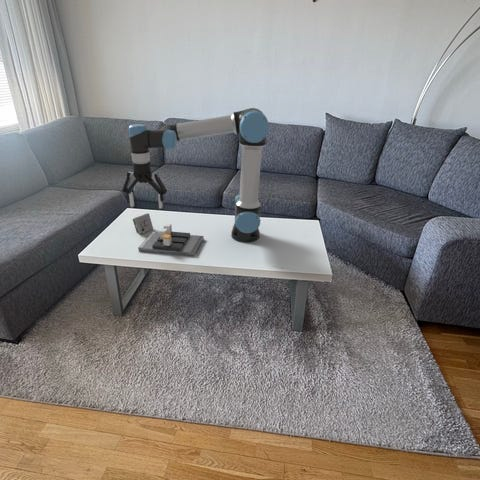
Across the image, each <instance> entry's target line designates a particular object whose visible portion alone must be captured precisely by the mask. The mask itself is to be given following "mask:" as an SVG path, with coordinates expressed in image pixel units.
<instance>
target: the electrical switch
mask: <svg viewBox="0 0 480 480" xmlns="http://www.w3.org/2000/svg"><path fill="white" fill-rule="evenodd" d="M132 222H133V225H134V228H135V231H136V233H138V235H142V234H144V233H148V232H149V231H152V230H153V229H154V226H153V223H152V222H153V221H152V218H151V215H150V213H144V214H142V215H138V216H136V217H134V218H133V219H132Z"/></svg>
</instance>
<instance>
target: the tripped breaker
mask: <svg viewBox="0 0 480 480" xmlns="http://www.w3.org/2000/svg"><path fill="white" fill-rule="evenodd" d="M171 243H172V239H171V235H168V234H165V235H164V236H163V244H164V245H165V246H170V245H171Z"/></svg>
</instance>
